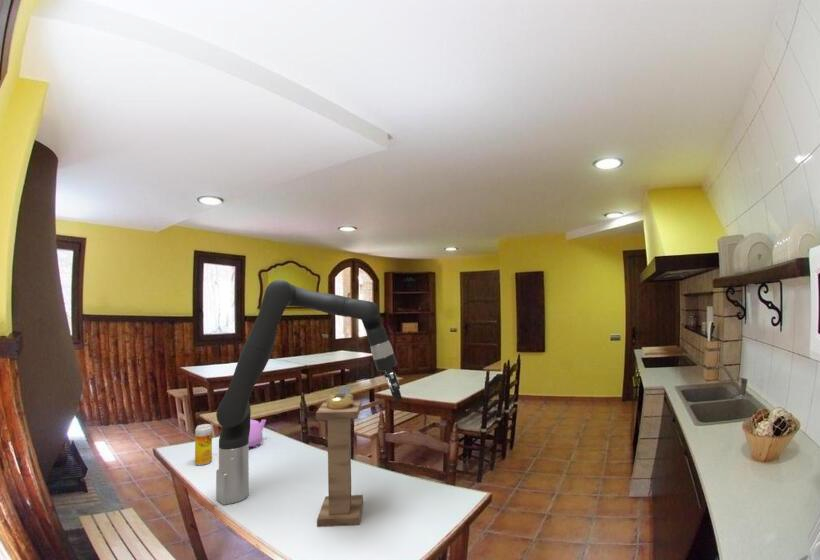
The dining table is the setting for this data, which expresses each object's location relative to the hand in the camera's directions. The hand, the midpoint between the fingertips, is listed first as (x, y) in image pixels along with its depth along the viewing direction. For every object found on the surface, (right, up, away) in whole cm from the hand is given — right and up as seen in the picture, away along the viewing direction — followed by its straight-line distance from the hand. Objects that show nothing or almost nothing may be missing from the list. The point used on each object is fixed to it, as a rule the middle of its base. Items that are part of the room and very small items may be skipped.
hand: (397, 399), depth 143 cm
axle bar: (-18, +3, -11) cm, 21 cm away
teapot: (-71, -34, +41) cm, 88 cm away
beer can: (-80, -33, +23) cm, 90 cm away
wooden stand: (-17, -29, -20) cm, 39 cm away
